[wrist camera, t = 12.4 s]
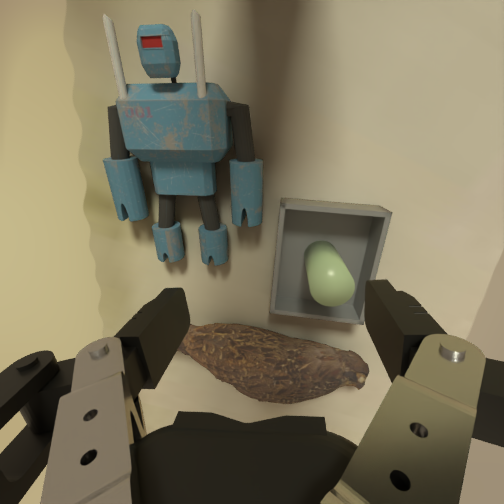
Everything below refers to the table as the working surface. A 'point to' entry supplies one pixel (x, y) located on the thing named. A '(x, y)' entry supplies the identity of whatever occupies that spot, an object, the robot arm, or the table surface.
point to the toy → (179, 144)
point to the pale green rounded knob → (327, 274)
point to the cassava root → (272, 362)
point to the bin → (346, 243)
